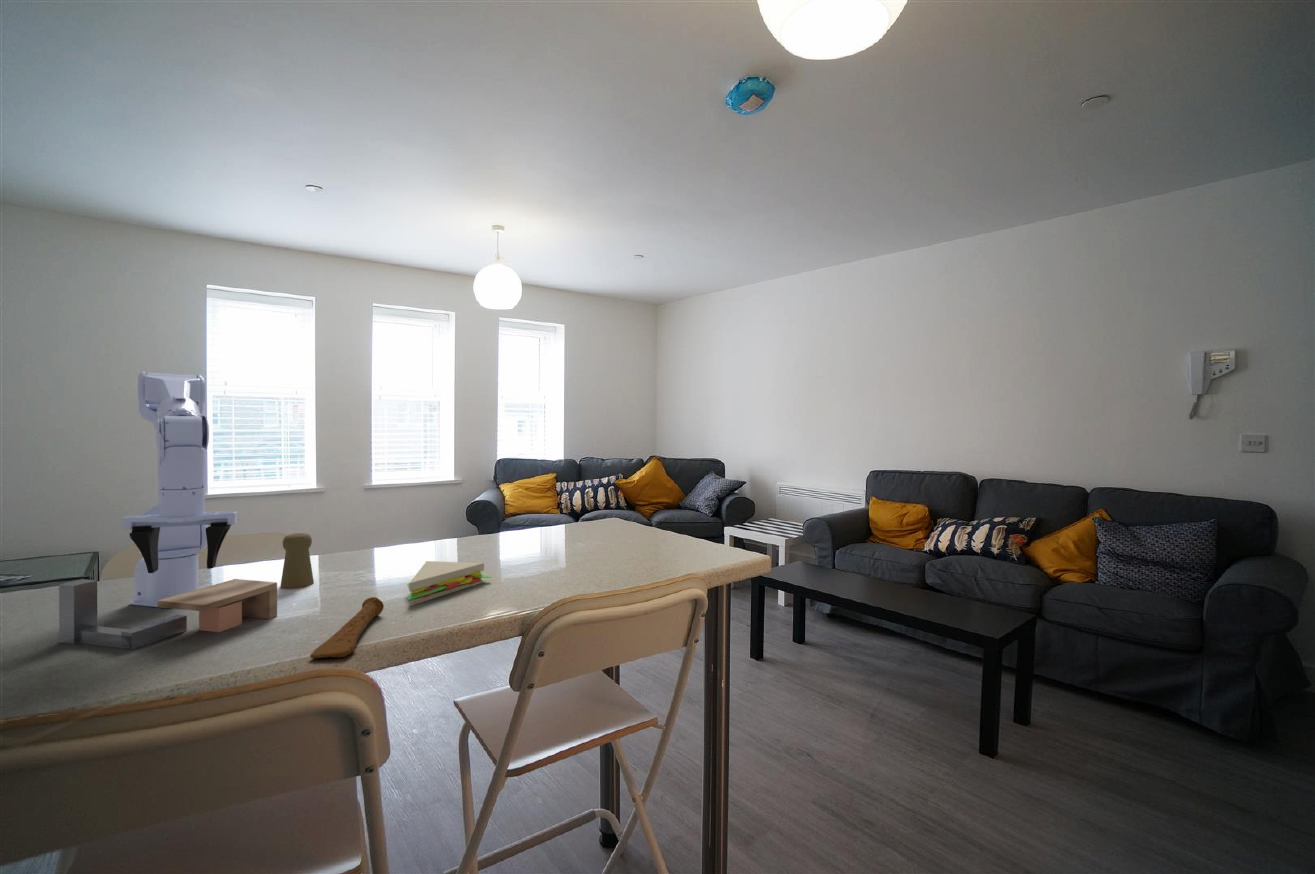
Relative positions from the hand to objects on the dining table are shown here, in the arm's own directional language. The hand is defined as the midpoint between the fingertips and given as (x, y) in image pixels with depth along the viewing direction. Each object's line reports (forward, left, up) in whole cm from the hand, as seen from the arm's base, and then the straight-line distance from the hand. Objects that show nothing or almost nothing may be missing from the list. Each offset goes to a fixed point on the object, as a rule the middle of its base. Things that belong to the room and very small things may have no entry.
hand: (182, 569), depth 93 cm
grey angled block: (-10, -8, -10) cm, 16 cm away
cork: (-2, +24, -10) cm, 26 cm away
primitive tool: (+26, 0, -8) cm, 27 cm away
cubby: (+6, +1, -10) cm, 11 cm away
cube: (+6, +1, -10) cm, 11 cm away
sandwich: (+28, +28, -10) cm, 41 cm away
